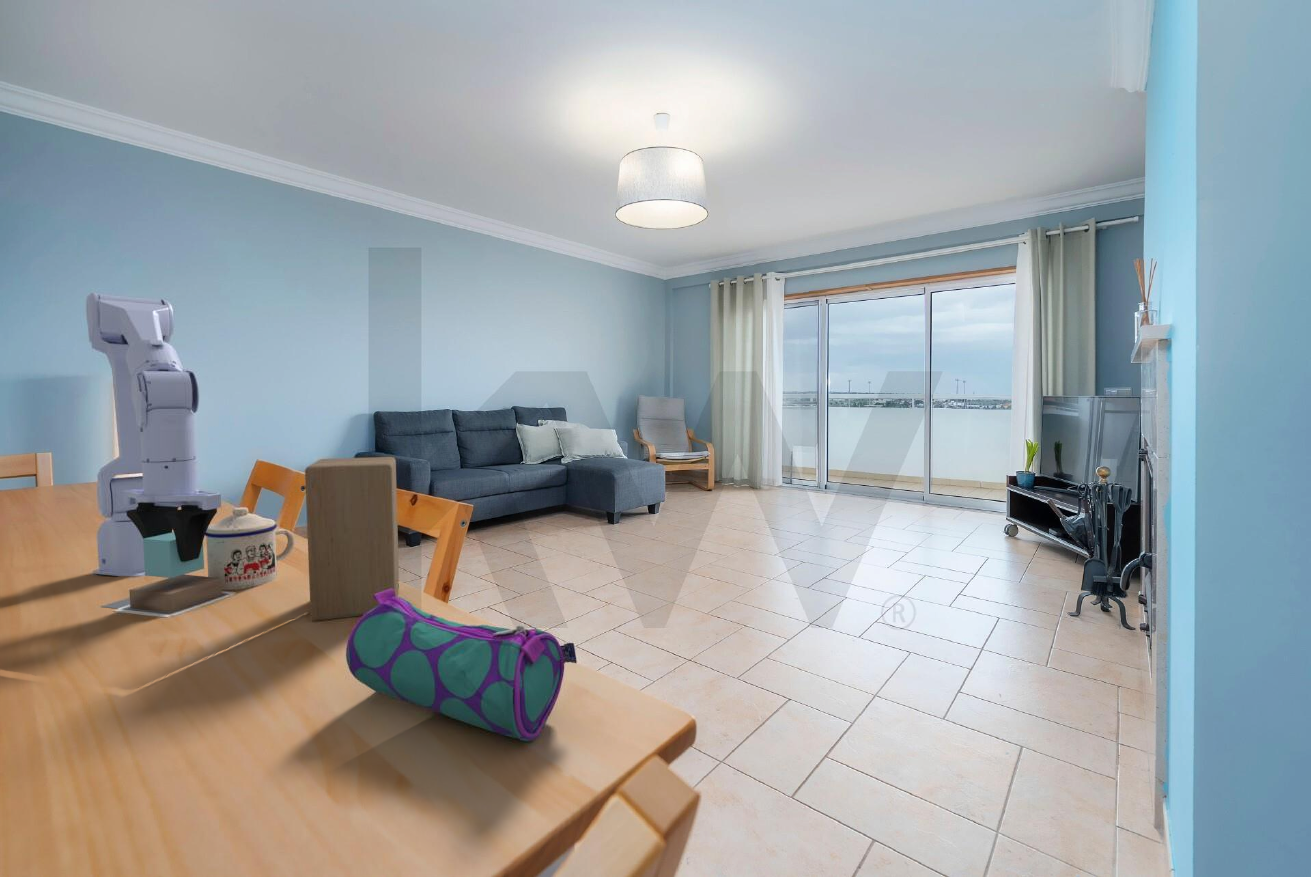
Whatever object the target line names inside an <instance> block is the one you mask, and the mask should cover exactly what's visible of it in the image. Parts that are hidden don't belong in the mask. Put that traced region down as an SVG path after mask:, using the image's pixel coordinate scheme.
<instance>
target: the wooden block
mask: <svg viewBox="0 0 1311 877" xmlns="http://www.w3.org/2000/svg"><path fill="white" fill-rule="evenodd" d="M304 482H305V500H306V501H305V504H306V506H305V507H306V528H307V532H306V533H307V553H308V554H307V555H308V558H307V559H308V580H309V603H310V604H309V606H310V607H309V608H310V610H309V611H310V619H311V620H312V621H322V620H323V621H325V620H333V619H335V620H336V619H343V618H350V617H362V616H363V615H364V614H366V613H367V612H368V611H370V610H372V609H374V608H376V607H377V606H379V605H380V604H379V603H378V602H377V601H376V600H375V599H374V597H373V595H374V594H377V593H379V592H382V591H385V590H388V589H391V588H392V589H393V590H394V591H395V596H396V597H399V596H398V595H399V589H400V574H399V573H400V571H399V570H400V569H399V538H398V537H399V534H398V532H399V531H398V527H399V526H398V498H397V490H398V489H397V460H396V458H395V457H393V456H378V457H377V456H375V457H346V458H345V457H343V458H339V457H338V458H321V459H318V460H317V461H315V462H313V463H312V464H310V465H308V466H307V467H306V468H305V470H304ZM398 582H399V583H398Z"/></svg>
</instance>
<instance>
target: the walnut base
mask: <svg viewBox="0 0 1311 877" xmlns="http://www.w3.org/2000/svg"><path fill="white" fill-rule="evenodd" d="M222 591H223V590H222V586H221V578H215V577H208V576H205V575H204V576H203V575H195V574H194V575H193V574H184V575H180V576H177V577H173V578H164V579H162V580H159V581H155V582H151V583H147V584H145V585H141V586H138V587H134V588H132V589H129V591H128V593H129V598H130V608H133V609H142V610H151V611H159V612H168V613H173V612H176V611H179V610H181V609H184V608H187V607H190V606H193V605H196V604H198V603H201V602H204V601H207V600H210V599H213V598H216V597H218V596H221V595H222Z"/></svg>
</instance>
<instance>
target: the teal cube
mask: <svg viewBox="0 0 1311 877" xmlns="http://www.w3.org/2000/svg"><path fill="white" fill-rule="evenodd" d="M143 549H144V566H145V575H144V576H147V577H156V578H164V579H168V578H173V577H177V576H180V575H188V574H190V573H194V572H197V571H201V570H203V569H205V560H204V558H205V557H204V555H205V554H204V542H203V543H202V547H201V551H200V555H199V558H198V559H194V560H190V561H187V562H181V561H180V558H179V555H178V551H177V544H176V538H175V534H174V531H172V533H168V534H163V535H159V536H154V537H149V538H145V539H143Z"/></svg>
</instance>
